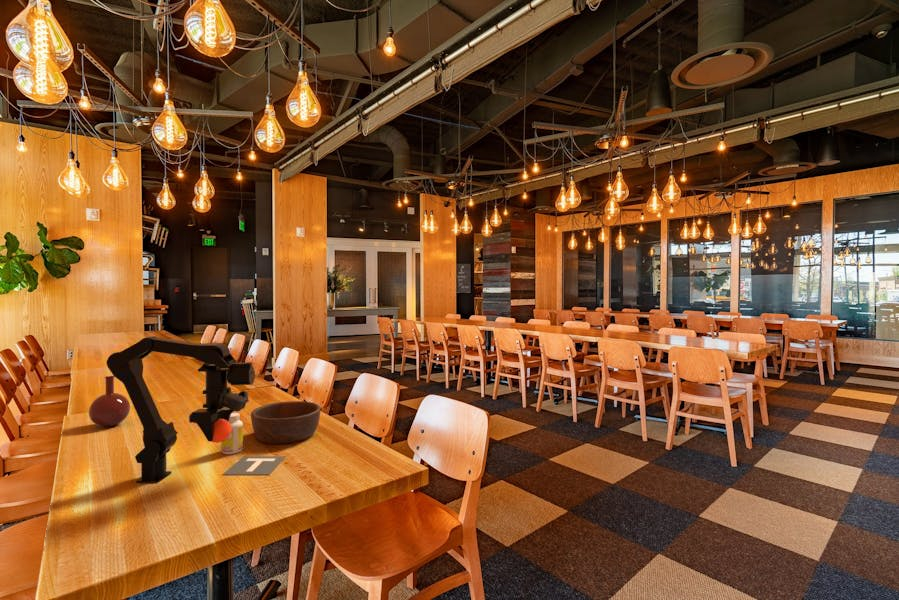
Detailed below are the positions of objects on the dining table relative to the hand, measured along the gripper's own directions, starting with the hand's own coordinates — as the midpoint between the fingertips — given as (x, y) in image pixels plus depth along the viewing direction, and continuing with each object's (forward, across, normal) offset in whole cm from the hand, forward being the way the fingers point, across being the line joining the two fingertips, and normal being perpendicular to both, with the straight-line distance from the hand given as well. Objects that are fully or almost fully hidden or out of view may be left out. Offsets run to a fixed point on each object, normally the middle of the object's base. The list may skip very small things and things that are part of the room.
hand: (216, 437), depth 129 cm
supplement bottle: (+12, +19, +5) cm, 23 cm away
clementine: (+2, 0, 0) cm, 2 cm away
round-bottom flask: (+12, +45, +66) cm, 81 cm away
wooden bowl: (+12, +35, -8) cm, 38 cm away
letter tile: (+12, +7, -8) cm, 16 cm away
